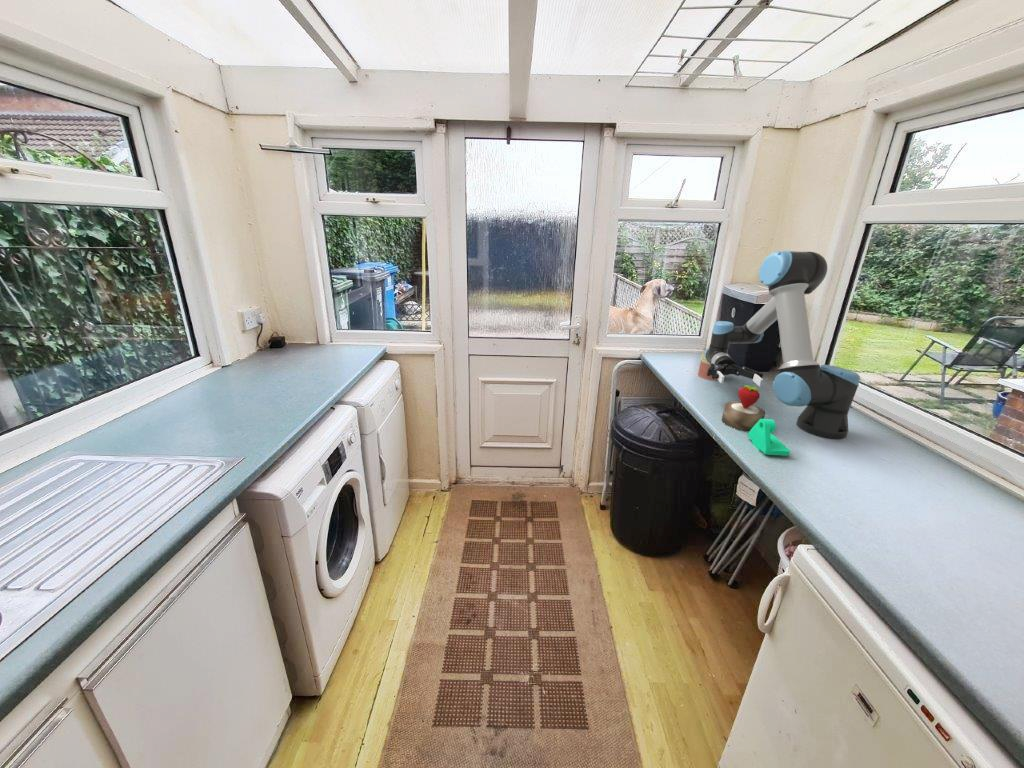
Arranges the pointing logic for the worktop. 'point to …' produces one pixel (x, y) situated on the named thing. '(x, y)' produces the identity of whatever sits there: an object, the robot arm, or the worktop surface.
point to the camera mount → (767, 438)
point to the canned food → (705, 368)
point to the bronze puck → (741, 415)
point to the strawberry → (748, 395)
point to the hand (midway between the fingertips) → (742, 381)
